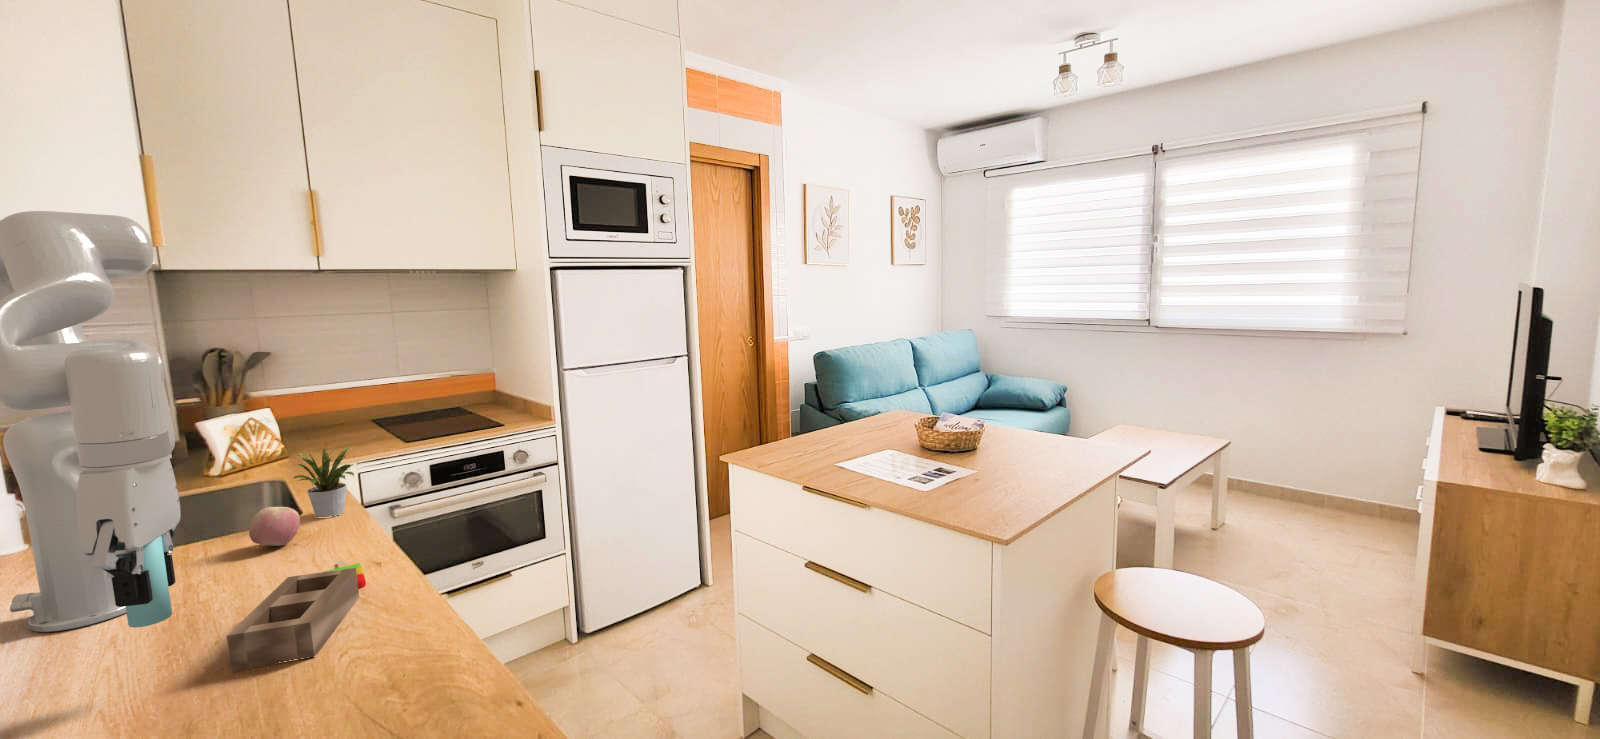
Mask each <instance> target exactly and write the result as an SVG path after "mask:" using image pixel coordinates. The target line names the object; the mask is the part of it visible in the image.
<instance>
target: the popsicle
mask: <svg viewBox="0 0 1600 739" xmlns="http://www.w3.org/2000/svg"><path fill="white" fill-rule="evenodd" d="M350 568H356V573H357V582H358V590H361V589H363V588H364V587H366V586H367V585H366V584H367V583H366V577H365V574H364V569H363V566H362V564H361V563H354V564H350V565H345V560H338V561H337V568H333V569H329V570H324V571H323V572H328V571H336V570H343V569H350Z"/></svg>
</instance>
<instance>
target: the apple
mask: <svg viewBox="0 0 1600 739" xmlns="http://www.w3.org/2000/svg"><path fill="white" fill-rule="evenodd" d="M249 522H250V523H249V527H248V537H249V538H250V540H251V541H252V543H254V544H257V545H262V546H269V547H281V546H284V545H288V543H289V542H291V541H292V540H293V539H294V537H295V536H296V535H297V533H298V531H299V529H300V525H301V517H300V514H299V512H298V511H297V510H295V509H294V508H293V507H288V506H268V507H264V508H262V509H260V510H259V511H257V512H256V513H255V514H254V516H253V517H251V520H250V521H249Z"/></svg>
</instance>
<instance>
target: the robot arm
mask: <svg viewBox="0 0 1600 739" xmlns="http://www.w3.org/2000/svg"><path fill="white" fill-rule="evenodd" d="M154 258H155V253H154V245H153V241H152V239H151V238H150V236H149V234H148V232H147V231H146V230H145V228H144V227H143V226H141V224H140V223H138V222H137V221H135V220H134V219H131V218H129V217H126V216H121V215H113V214H101V213H100V214H98V213H97V214H95V213H83V212H65V211H63V212H62V211H50V210H49V211H48V210H28V211H22V212H21V211H20V212H16V213H13V214H9V215H7V216H5V217H4V218H2V219H0V405H2V406H4V407H6V408H8V409H12V410H18V411H19V410H20V411H32V410H33V411H35V410H43V409H51V408H52V409H53V408H60V407H70V411H63V412H61V411H60V412H52V413H47V414H40V415H36V416H31V417H27V418H25V419H22V420H19V421H18V422H16V423H14V424H12V425H11V426H10V427H9V428H8V429H7V430H6V431H5V433H4V435H3V441H2V442H3V443H2V444H3V450H4V453H5V455H6V458H7V460H8V463H9V465H10V467H11V469H12V472H13V475H14V476H15V478H16V482H17V485H18V487H19V490H20V494H21V497H22V498H21V499H22V501H23V502H22V503H23V507H24V512H25V516H26V524H27V525H28V526H27V527H28V531H29V536H30V542H31V549H32V555H33V560H34V565H35V572H36V578H37V583H38V587H39V592H28V593H21V594H16V595H14V596H13V598H12V599H11V604H10V605H9V611H10V612H11V613H16V612H24V611H26V610H30V611H32V613H33V615H32V616H31V617H30V618H29V619H28V622H27V623H28V628H29V629H30V630H31V631H34V632H41V633H45V632H46V633H50V632H59V631H60V632H61V631H65V630H72V629H77V628H81V627H85V626H89V625H94V624H96V623H100V622H104V621H106V620H110V619H113V618H115V617H119V616H120V615H123V614H124V615H125V614H127V613H126V606H133V605H141V604H148V603H149V602H151V601H152V600H153V597H152V590H151V583H150V576H149V570H146V571H143V570H144V557H143V546H145V545H146V544H148V543H149V542H151V541H153V540H154V539H156V538H157V537H159V536H161V537H162V544H163V551H164V559H165V566H166V573H167V580H168V587H172V586H174V585H175V583H176V576H175V574H176V573H175V568H174V561H173V554H172V553H173V552H174V544H173V543H174V542H173V541H172V539H173V537H174V535H175V534H174V533H175V530H176V528H177V526H178V524H179V523H180V521H181V516H182V515H181V503H180V497H179V489H178V485H177V481H176V476H175V473H174V469H173V465H172V462H171V460H170V459H172V457H173V456H172V452H173V450H174V449H175V444H176V433H175V428H174V422H173V418H172V414H171V410H170V404H169V400H168V396H167V395H168V394H167V391H166V387H165V382H164V379H165V366H164V362H163V358H162V356H161V354H160V353H159V352H158V351H155V350H154V349H153V348H152V346H150V345H148V344H147V343H146V342H144V341H141V340H139V339H136V338H135V339H133V338H105V339H88V338H87V337H86V336H85V333H84V330H83V323H87V322H89V321H91V320H93V319H95V318H97V317H99V316H101V315H103V314H104V313H105V312H107V311H108V310H109V309H110V308H111V307H112V305H113V303H114V300H115V290H114V288H113V286H112V283H111V281H114V280H125V279H126V280H127V279H130V278H134V277H139V276H141V275H144V274H146V273H147V272H148V271H149V270H150V269H151V268H152V266H153V263H154ZM110 280H111V281H110ZM119 544H125V548H118V545H119ZM124 554H131V561H130V560H128V559H127V558H120V555H124Z"/></svg>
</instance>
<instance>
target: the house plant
mask: <svg viewBox="0 0 1600 739" xmlns="http://www.w3.org/2000/svg"><path fill="white" fill-rule="evenodd" d="M326 446H327V443H325V444H324V446H323V448H322V456H321V466H318V464H317V463H316V461H315V459H314V457H313V456H312V455H311V453H310V452H308V451H305V450H303V452H305V453H307V455H308V456H309V457H310V458H311V459H310V458H308V457H307V456H306V455H305V454H303V453H300V452H298V456H299V457H300V459H297V458H295V457H292V456H285V455H280V456H279V455H278V456H276V457H283V458H285V457H286V458H287V457H288V458H292V459H294V460H296V461H298V462H300V463H297V464H294V466H295V465H298V466H300V467H302V468H303V469H304V470H305V471H306V472H307V473H308V474H309V475H310V476H311V477H312V478H311V477H309V476H308V475H305V474H298V475H295V476H293V478H292V480H293V479H298V478H299V479H298V480H297V482H299V481H303V480H305V481H310V482H311V484H312V487H311V488H309V489H308V490H307V494H308V498H309V500H310V503H311V507H312V509H313V512H314V515H315V517H329V516H335V515H338V514H341V513H343V512H344V511H345V512H346V500H347V499H346V498H347V488H348V485H347V484H346V483H342V482H340V480H341V478H342V479H344V480H347V479H346V475H345V474H347V475H351V476H353V478H356V477H355V473H354V472H353V471H347V470H349V469H350V468H351V467H353V466H354V464H353V463H352V464H348V463H347V464H344V465H341V466H340V464H341V462H342V460H344V459H345V457H346V456H347V455H349V454H350V453H352V452H354V450H352V451H350V452H349V453H347V451H348V450H349V449H350V448H352V445H350V446H348V447H345V448H344V449H342V451H341V452H340V453H339V454H338V455H337V457H335V456H334V457H331V458H330V455H331V454H332V453H333V452H334V451H335V450H336V449H337V448H338V446H337V447H335V448H334V449H333V450H332V451H331V452H330V453H328V451H327V450H326ZM346 453H347V454H346ZM332 459H335V460H334V461H333V460H332ZM300 460H302V461H304V462H305V463H306V464H308V465H309V466H310V467H311V469H312V470H313V471H314V472H313V471H312V470H311V469H310V468H309V467H308V466H306V465H305V464H304V463H303V462H302V461H300ZM331 462H333V463H332V467H331V469H330V464H331ZM339 466H340V467H339ZM313 485H314V487H313ZM345 512H344V513H345ZM344 513H343V514H344Z"/></svg>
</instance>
